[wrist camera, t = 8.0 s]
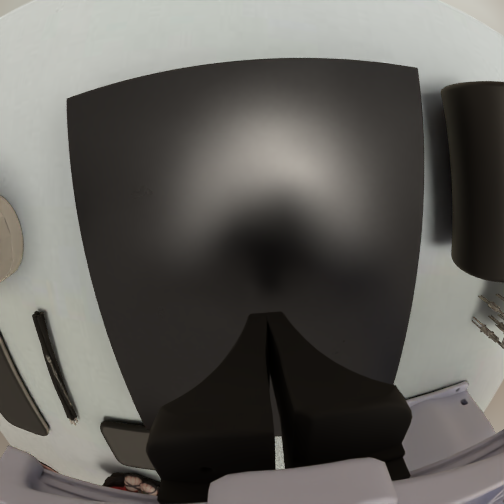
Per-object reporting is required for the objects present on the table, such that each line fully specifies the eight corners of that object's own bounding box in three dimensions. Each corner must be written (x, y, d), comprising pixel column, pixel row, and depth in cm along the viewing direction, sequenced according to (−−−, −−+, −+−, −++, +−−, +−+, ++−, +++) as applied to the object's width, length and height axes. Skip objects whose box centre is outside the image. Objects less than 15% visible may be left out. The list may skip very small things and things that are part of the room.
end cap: (415, 92, 14) (490, 75, 8) (490, 98, 14) (560, 95, 8) (428, 250, 17) (493, 295, 11) (497, 233, 17) (559, 265, 11)
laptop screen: (410, 71, 11) (417, 67, 10) (377, 416, 18) (380, 425, 18) (75, 100, 12) (66, 98, 12) (149, 420, 20) (145, 429, 19)
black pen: (80, 420, 22) (77, 427, 21) (72, 417, 22) (68, 424, 21) (46, 312, 18) (39, 318, 17) (36, 309, 18) (29, 316, 17)
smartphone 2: (267, 474, 24) (119, 465, 23) (266, 467, 24) (121, 459, 24) (269, 434, 21) (95, 423, 21) (268, 426, 22) (98, 415, 21)
